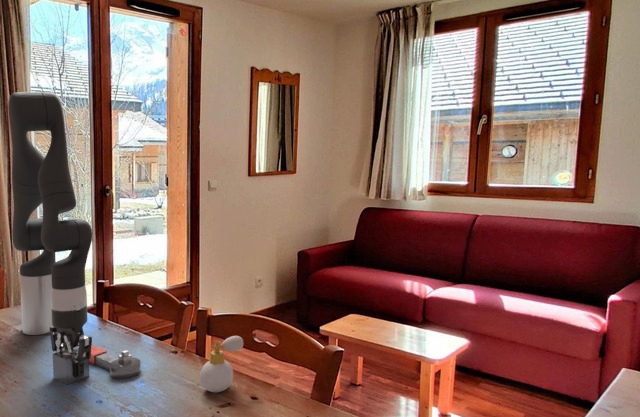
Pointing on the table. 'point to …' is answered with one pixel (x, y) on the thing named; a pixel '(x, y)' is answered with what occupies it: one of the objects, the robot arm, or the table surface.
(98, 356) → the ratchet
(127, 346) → the table surface
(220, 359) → the perfume bottle
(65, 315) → the robot arm
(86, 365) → the cube with chrome knob
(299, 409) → the table surface
